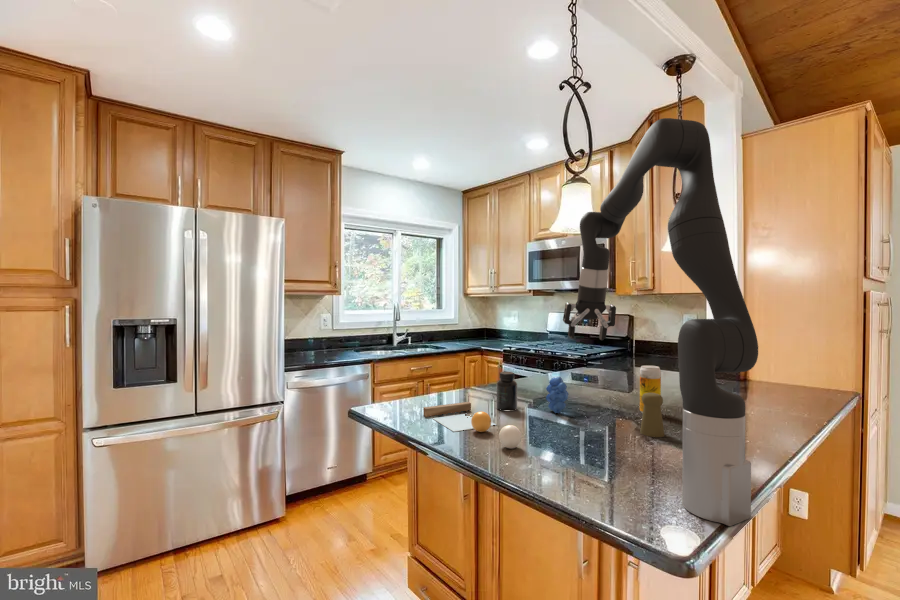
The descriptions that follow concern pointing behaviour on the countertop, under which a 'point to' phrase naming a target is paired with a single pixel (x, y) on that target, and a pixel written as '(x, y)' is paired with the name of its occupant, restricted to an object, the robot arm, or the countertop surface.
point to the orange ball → (481, 421)
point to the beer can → (649, 381)
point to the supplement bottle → (506, 391)
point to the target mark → (457, 422)
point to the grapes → (557, 394)
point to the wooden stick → (446, 409)
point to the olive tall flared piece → (652, 415)
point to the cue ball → (510, 436)
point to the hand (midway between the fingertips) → (586, 338)
